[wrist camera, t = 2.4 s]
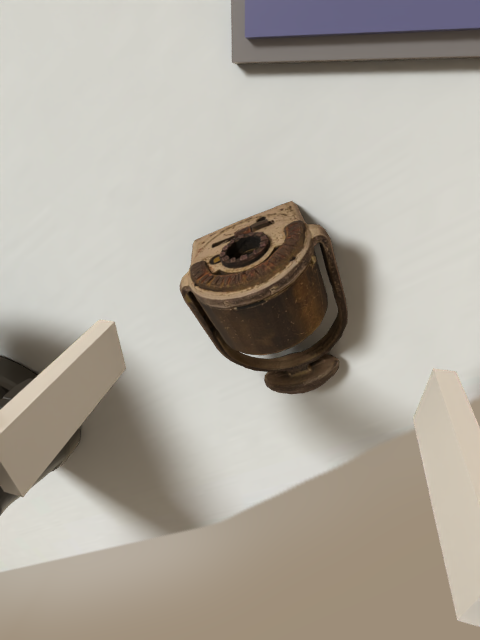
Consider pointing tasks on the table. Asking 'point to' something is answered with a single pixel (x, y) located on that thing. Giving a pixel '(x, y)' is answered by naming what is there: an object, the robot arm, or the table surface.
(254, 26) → the ink pad
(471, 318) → the table surface
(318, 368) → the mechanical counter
